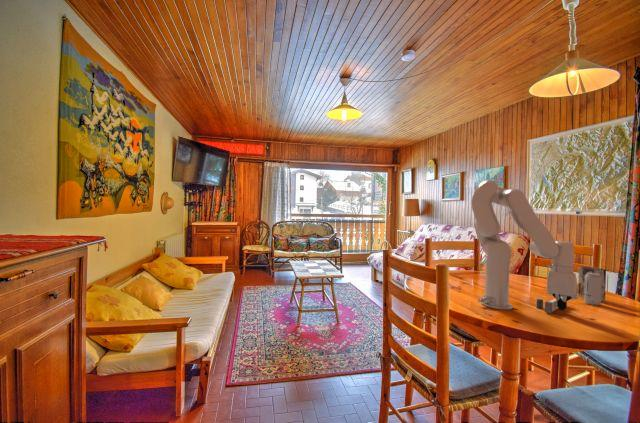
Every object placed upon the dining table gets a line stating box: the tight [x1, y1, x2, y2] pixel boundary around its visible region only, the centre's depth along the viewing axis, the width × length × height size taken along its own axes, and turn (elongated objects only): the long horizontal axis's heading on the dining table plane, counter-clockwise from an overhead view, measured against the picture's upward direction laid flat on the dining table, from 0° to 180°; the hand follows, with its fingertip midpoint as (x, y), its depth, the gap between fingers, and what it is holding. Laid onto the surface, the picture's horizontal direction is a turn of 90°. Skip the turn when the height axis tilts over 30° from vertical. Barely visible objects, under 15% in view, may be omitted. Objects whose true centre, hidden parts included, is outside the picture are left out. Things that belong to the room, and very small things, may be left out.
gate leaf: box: [544, 297, 563, 314], centre depth 130 cm, size 2×18×4 cm, turn 125°
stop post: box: [536, 298, 544, 310], centre depth 132 cm, size 2×2×4 cm
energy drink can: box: [583, 272, 602, 306], centre depth 140 cm, size 6×6×15 cm
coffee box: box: [577, 266, 607, 302], centre depth 148 cm, size 9×6×16 cm
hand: (561, 309), depth 127 cm, fingers closed
